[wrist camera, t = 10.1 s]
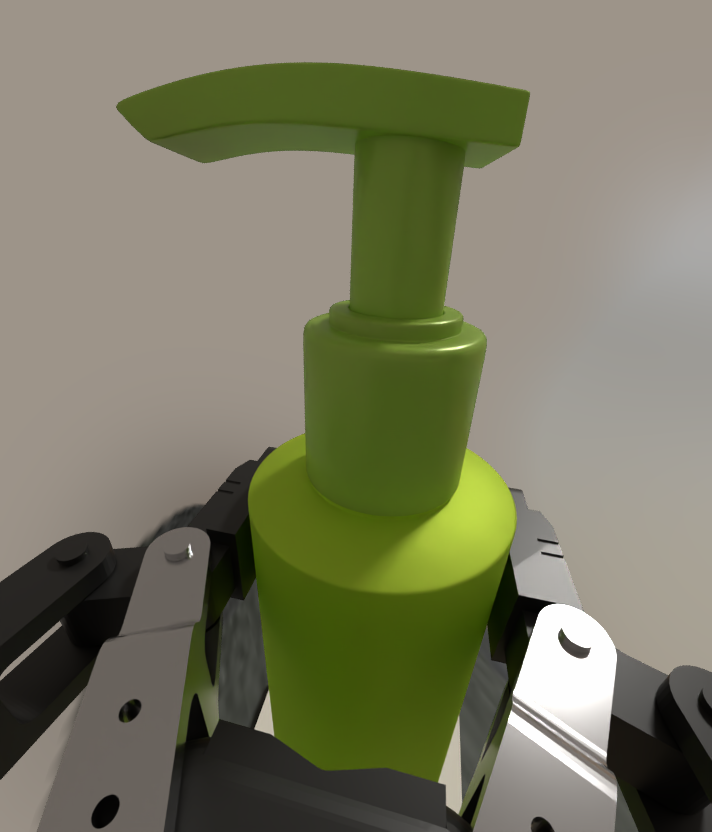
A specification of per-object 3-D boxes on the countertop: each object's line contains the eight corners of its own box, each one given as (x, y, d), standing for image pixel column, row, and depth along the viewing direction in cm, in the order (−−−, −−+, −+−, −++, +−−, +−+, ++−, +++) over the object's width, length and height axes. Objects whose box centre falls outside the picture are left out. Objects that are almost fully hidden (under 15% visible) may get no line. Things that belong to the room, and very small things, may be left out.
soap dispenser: (272, 670, 17) (217, 130, 8) (423, 679, 17) (535, 143, 8) (228, 867, 12) (-73, -66, 3) (447, 881, 12) (860, -29, 3)
